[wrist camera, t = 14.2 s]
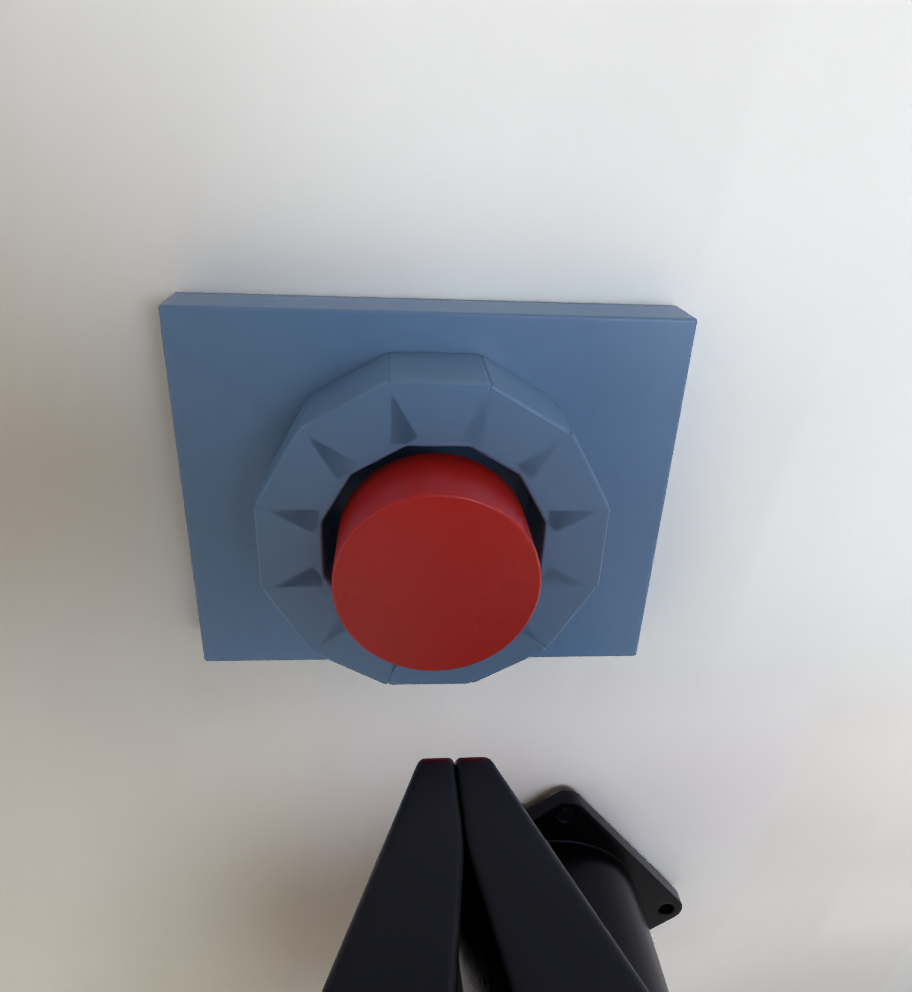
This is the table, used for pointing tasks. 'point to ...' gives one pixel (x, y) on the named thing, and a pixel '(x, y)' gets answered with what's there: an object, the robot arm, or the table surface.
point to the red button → (434, 563)
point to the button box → (415, 430)
